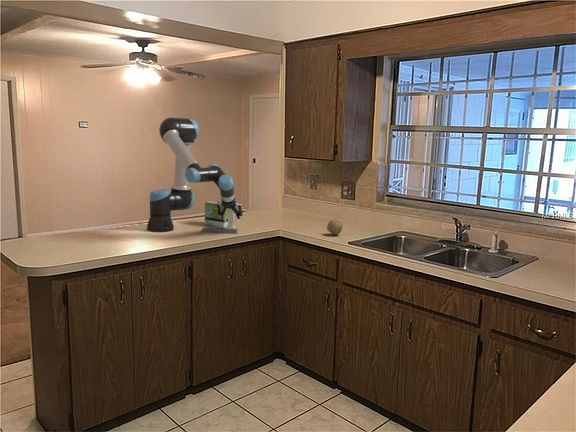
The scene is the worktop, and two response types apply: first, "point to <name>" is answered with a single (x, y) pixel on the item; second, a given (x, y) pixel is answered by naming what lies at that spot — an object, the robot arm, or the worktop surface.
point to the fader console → (219, 230)
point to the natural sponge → (335, 226)
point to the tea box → (214, 215)
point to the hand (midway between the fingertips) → (231, 221)
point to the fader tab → (230, 219)
